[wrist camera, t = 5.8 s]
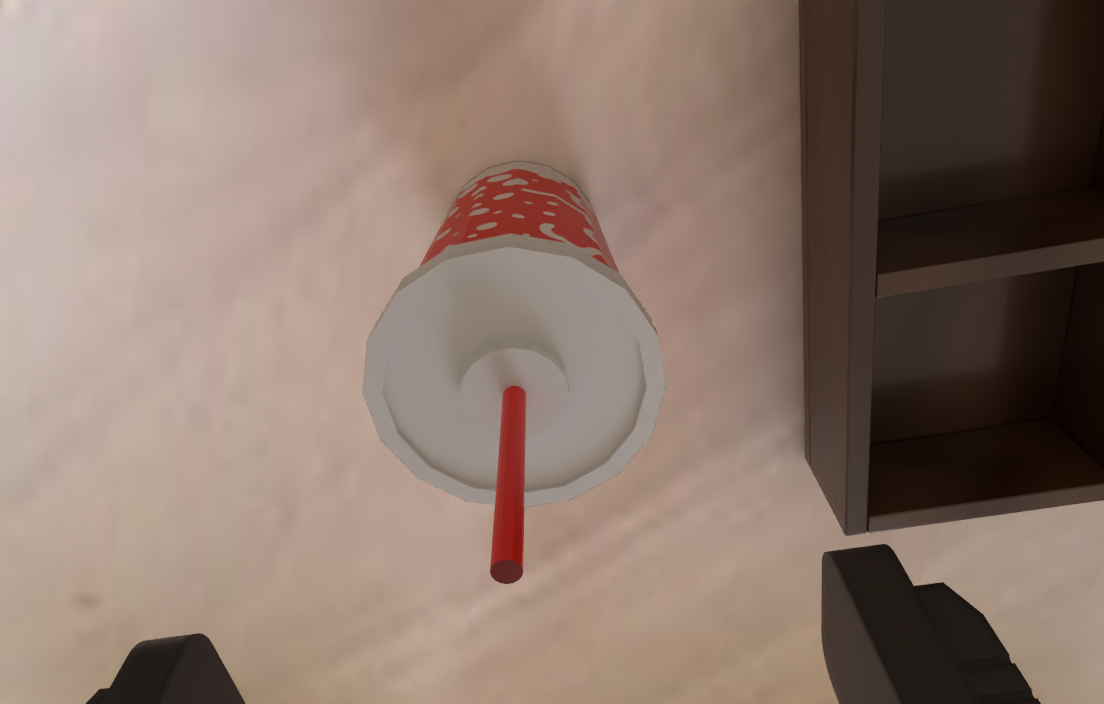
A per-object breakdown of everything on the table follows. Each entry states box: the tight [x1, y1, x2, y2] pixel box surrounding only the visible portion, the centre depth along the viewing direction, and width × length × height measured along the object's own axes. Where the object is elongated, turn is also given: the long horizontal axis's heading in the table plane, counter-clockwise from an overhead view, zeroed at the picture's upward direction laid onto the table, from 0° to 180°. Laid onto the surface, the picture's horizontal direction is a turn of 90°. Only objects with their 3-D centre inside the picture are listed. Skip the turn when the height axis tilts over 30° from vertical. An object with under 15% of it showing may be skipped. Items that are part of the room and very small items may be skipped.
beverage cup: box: [363, 161, 666, 584], centre depth 17 cm, size 6×6×14 cm
